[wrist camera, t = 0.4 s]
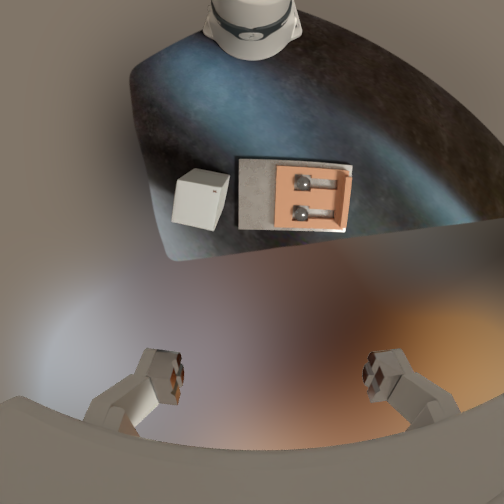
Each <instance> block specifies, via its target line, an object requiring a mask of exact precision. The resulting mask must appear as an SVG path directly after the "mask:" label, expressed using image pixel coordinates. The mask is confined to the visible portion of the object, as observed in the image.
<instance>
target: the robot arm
mask: <svg viewBox="0 0 504 504" xmlns="http://www.w3.org/2000/svg"><path fill="white" fill-rule="evenodd" d="M208 11H209V12H208V15H207V18H206V21H205V24H204V27H203V33H204V35H206V36H207V37H209V38H211V39H213V40H215V41H216V42H217V43H218V44H219V46H220V47H221V48H222V49H223V50H224V51H225V52H227V53H228V54H230V55H231V56H234V57H236V58H239V59H243V60H261V59H266V58H269V57H271V56H273V55H275V54H277V53H278V52H280V51H281V50H282V49H283V48H284V47H285V46H286V44H287V43H288V42H290V41H291V40H294V39H296V38H298V37H299V36H301V34H302V28H301V24H300V21H299V17H298V13H297V10H296V6H295V3H294V0H211V5H209V6H208ZM295 26H296V28H295ZM181 359H182V357H181V354H180V352H173V351H165V350H158V349H149V348H146V349H145V350H144V352H143V354H142V357H141V359H140V361H139V364H138V366H137V369H136V371H135V373H134V375H133V374H131V375H129V376H127V377H126V378H124V379H123V380H121V381H120V382H118V383H117V384H115V385H114V386H113V387H111V388H109V389H108V390H106V391H105V392H103V393H102V394H100V395H99V396H97V397H96V398H94V399H93V400H92V402H91V404H90V406H89V408H88V410H87V412H86V414H85V417H84V419H83V421H81V420H78V419H75V418H72V417H70V416H67V415H64V414H62V413H60V412H57V411H55V410H52V409H50V408H48V407H45V406H43V405H41V404H38V403H36V402H34V401H32V400H30V399H28V398H25V397H23V396H16V397H14V398H11V399H9V400H7V401H5V402H3V403H1V404H0V504H504V393H503V394H501V395H499V396H497V397H495V398H493V399H491V400H489V401H487V402H485V403H483V404H481V405H478V406H476V407H474V408H472V409H470V410H467V411H465V412H462V413H461V412H460V410H459V408H458V406H457V404H456V402H455V401H454V399H453V396H452V395H451V394H450V393H448V392H447V391H445V390H444V389H442V388H441V387H439V386H437V385H436V384H434V383H433V382H431V381H430V380H428V379H427V378H425V377H423V376H422V375H420V374H419V373H417V372H415V373H414V371H413V369H412V367H411V366H410V364H409V362H408V360H407V358H406V356H405V354H404V353H403V351H402V350H401V349H392V350H384V351H376V352H371V353H370V354H369V356H368V361H369V362H368V363H366V364H365V365H364V368H363V373H362V377H363V382H364V384H365V385H366V386H367V387H368V390H367V393H368V396H369V399H370V402H371V403H373V402H380V401H387V402H388V403H389V404H391V406H392V407H393V408H395V409H396V410H397V411H398V412H399V413H400V414H401V415H402V416H403V417H404V418H405V419H406V420H407V421H409V422H410V423H411V425H410V426H409V427H408V429H407V430H406V431H405V432H402V433H398V434H394V435H390V436H386V437H382V438H377V439H372V440H368V441H362V442H356V443H350V444H344V445H336V446H328V447H320V448H308V449H296V450H295V449H294V450H267V451H266V450H229V449H213V448H203V447H195V446H187V445H179V444H173V443H167V442H161V441H156V440H151V439H145V438H141V437H140V436H139V434H138V433H137V431H136V429H135V428H134V427H135V426H136V425H138V424H139V423H140V422H141V421H142V420H143V419H144V418H145V417H146V416H147V415H148V414H149V413H150V412H151V411H152V410H153V409H155V408H156V407H157V406H158V405H159V403H162V404H170V405H178V403H179V398H180V394H181V393H180V389H179V388H180V387H181V386H183V382H184V367H183V365H182V364H181Z"/></svg>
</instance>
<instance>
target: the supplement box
mask: <svg viewBox="0 0 504 504" xmlns="http://www.w3.org/2000/svg"><path fill="white" fill-rule="evenodd" d="M229 178H230V175H227V174H222V173H217V172H212V171H207V170H202V169H197V168H194V169H193V170H191V171H190V172H188V173H187V174H185V175H184V176H182V177H181V178H179V179H178V180H177V184H176V190H175V197H174V204H173V212H172V222H175V223H180V224H185V225H190V226H194V227H198V228H202V229H207V230H211V231H214V229H215V227H216V225H217V222H218V220H219V217H220V214H221V212H222V210H223V207H224V203H225V198H226V194H227V188H228V183H229Z"/></svg>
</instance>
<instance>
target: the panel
mask: <svg viewBox="0 0 504 504" xmlns="http://www.w3.org/2000/svg"><path fill="white" fill-rule="evenodd" d="M295 174H302V175H311V178H316V179H330V180H337V189H325V188H310V191H309V190H305V191H302V190H294V183H295ZM351 183H352V177H350V176H349V171H348V170H340V169H329V168H316V167H301V166H281V165H277V167H276V193H275V215H274V227H280V228H312V229H338V230H343V228H346V226H347V218H348V210H349V202H350V193H351ZM293 205H303V206H308V208H309V209H324V210H334V218H316V217H308V218H307V220H304V221H298V220H293V219H292V216H293Z"/></svg>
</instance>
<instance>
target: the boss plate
mask: <svg viewBox="0 0 504 504" xmlns="http://www.w3.org/2000/svg"><path fill="white" fill-rule="evenodd" d="M277 165H281V166H301V167H316V168H329V169H340V170H348V171H349V176H350V177H351V176H352V165H346V164H336V163H325V162H312V161H297V160H277V159H239V229H256V230H295V231H325V232H345V228H343V230H338V229H312V228H280V227H274V215H275V193H276V167H277ZM310 188H325V189H337V180H330V179H316V178H311V175H302V174H295V183H294V190H302V191H305V190H309V191H310ZM308 217H316V218H334V210H324V209H309V208H308V206H303V205H293V216H292V219H293V220H298V221H304V220H307V218H308Z"/></svg>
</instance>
